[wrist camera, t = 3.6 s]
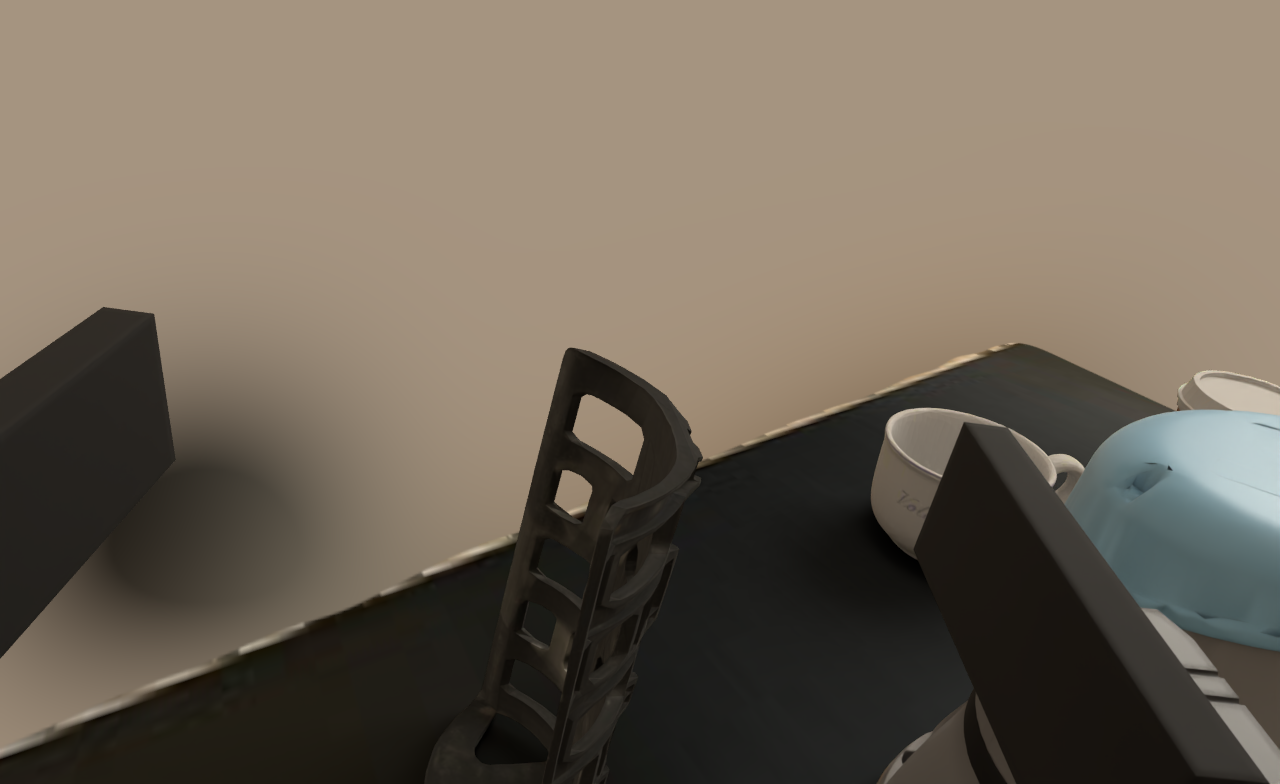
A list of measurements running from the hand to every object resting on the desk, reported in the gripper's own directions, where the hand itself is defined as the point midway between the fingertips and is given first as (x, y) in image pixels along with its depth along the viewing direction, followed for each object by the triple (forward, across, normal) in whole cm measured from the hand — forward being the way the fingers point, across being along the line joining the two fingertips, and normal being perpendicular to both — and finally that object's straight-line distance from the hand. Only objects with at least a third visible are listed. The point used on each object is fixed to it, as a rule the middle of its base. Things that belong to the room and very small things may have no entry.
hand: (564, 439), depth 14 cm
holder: (+12, 0, -26) cm, 29 cm away
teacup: (+34, +27, -26) cm, 50 cm away
